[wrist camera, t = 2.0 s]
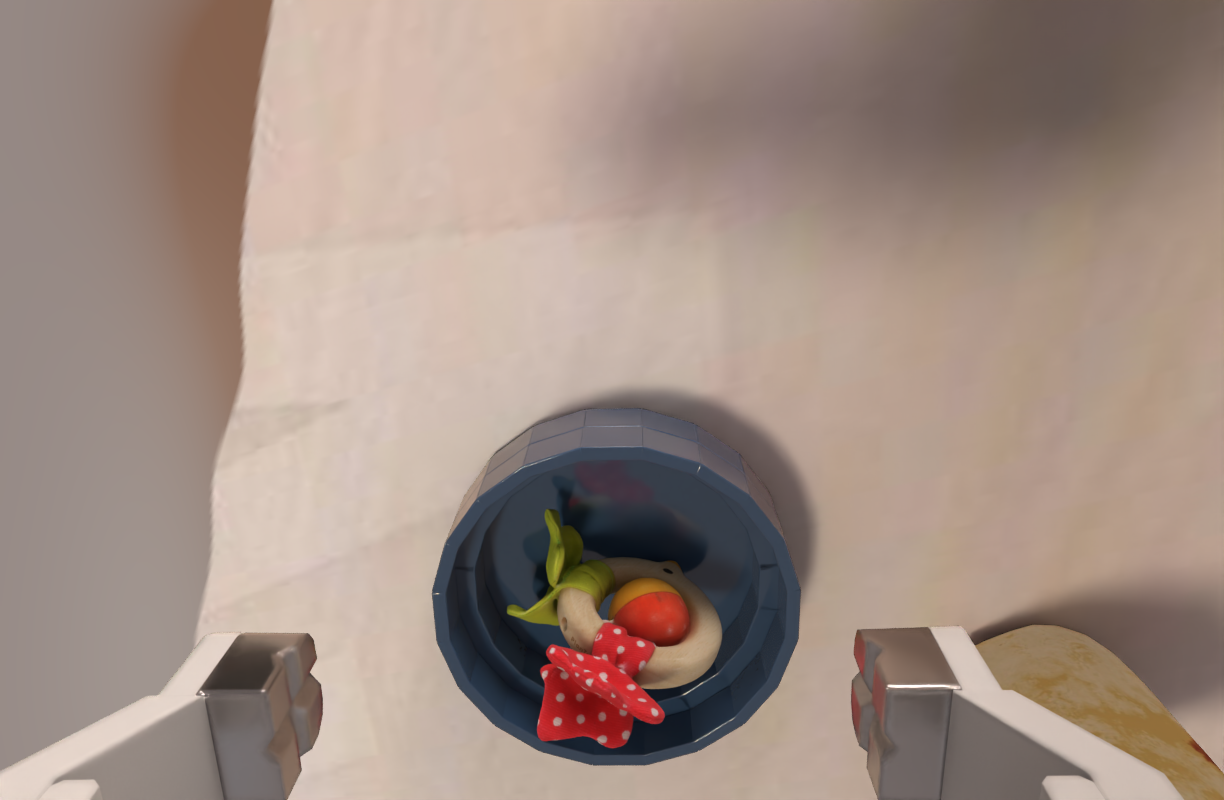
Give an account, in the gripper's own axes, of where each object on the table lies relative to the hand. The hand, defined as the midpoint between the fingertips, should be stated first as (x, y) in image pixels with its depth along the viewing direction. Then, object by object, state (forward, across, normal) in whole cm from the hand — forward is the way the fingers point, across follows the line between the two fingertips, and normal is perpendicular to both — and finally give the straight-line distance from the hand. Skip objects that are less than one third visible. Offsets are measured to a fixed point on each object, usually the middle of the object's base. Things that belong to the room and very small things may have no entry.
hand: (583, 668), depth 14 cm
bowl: (+28, 0, +13) cm, 31 cm away
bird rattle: (+28, 0, +13) cm, 31 cm away
